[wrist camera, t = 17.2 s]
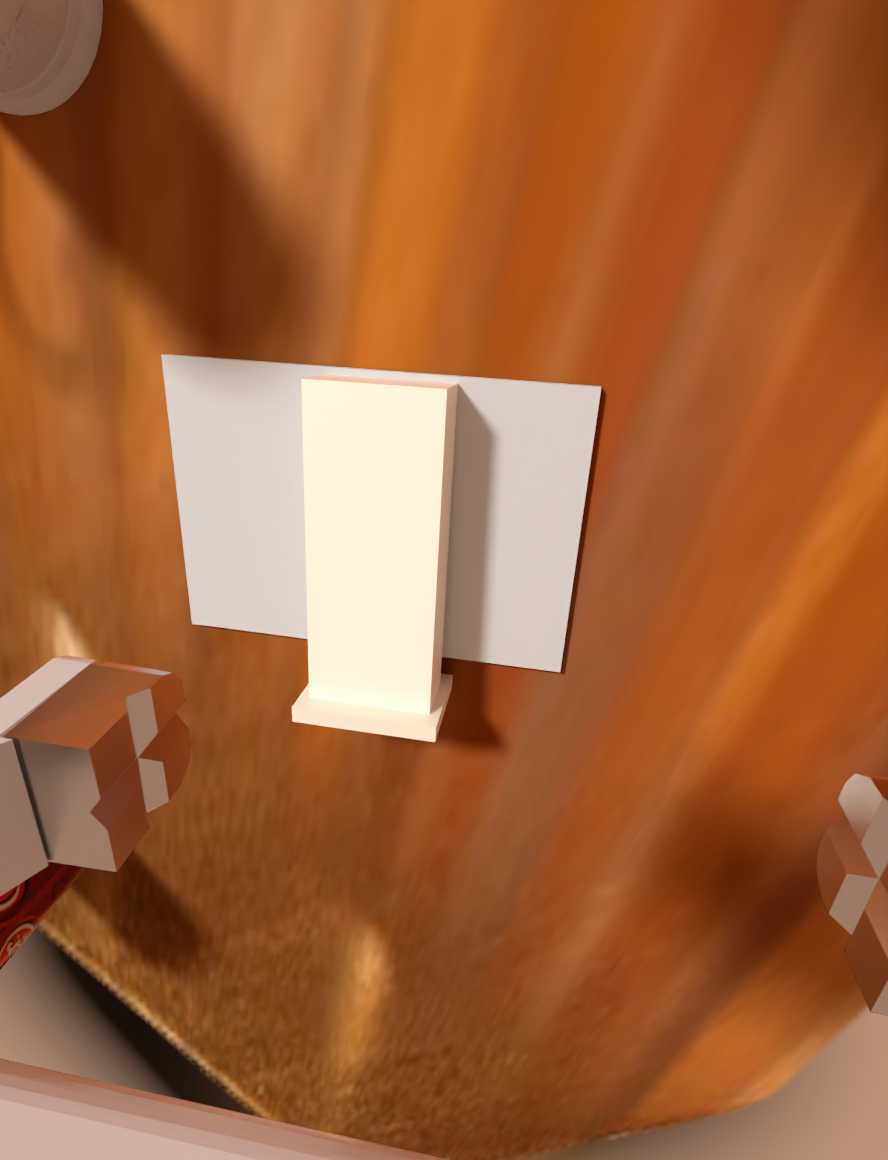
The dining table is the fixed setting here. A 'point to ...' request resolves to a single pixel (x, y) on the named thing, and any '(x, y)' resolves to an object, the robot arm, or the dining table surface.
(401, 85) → the dining table surface
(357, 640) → the menu stand
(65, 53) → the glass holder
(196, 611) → the mat
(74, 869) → the soda can
